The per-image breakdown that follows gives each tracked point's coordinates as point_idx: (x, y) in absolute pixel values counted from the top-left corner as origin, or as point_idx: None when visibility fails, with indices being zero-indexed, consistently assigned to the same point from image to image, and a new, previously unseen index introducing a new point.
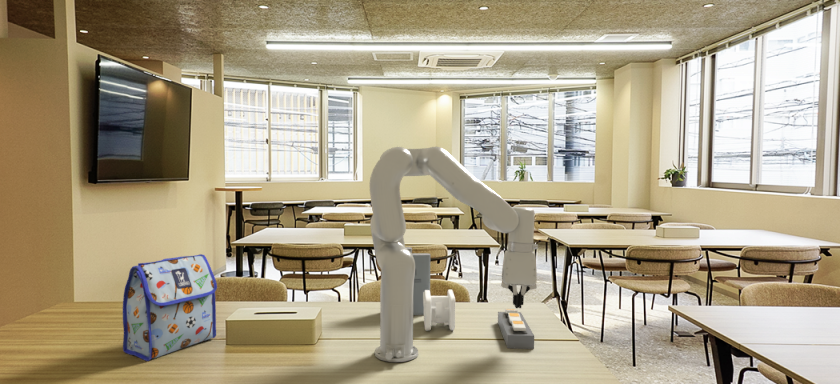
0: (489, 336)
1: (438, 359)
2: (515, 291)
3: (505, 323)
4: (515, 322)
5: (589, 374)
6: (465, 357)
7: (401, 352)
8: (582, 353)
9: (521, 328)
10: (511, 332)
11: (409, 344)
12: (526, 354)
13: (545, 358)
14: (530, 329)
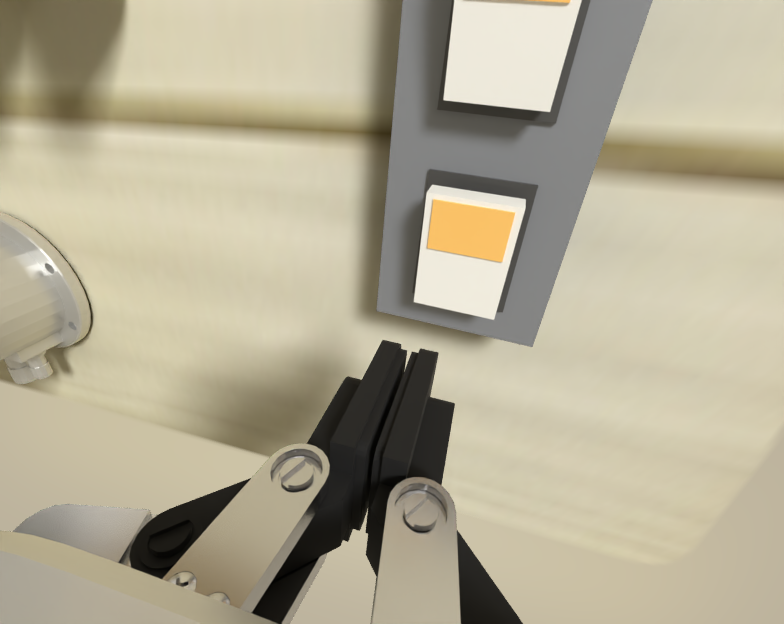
0: (334, 75)
1: (154, 338)
2: (290, 573)
3: (421, 48)
4: (446, 231)
5: (614, 545)
6: (229, 340)
7: (40, 354)
8: (774, 408)
9: (464, 309)
10: (410, 273)
11: (29, 339)
12: (461, 360)
13: (527, 411)
14: (571, 228)
